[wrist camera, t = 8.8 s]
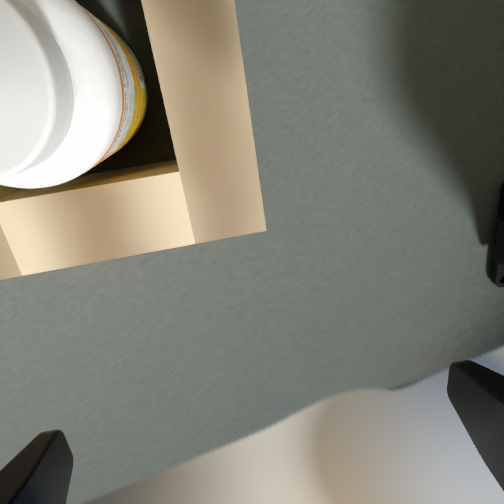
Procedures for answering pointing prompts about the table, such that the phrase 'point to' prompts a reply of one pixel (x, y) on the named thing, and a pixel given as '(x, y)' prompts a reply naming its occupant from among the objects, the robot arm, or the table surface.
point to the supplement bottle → (63, 92)
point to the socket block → (156, 174)
